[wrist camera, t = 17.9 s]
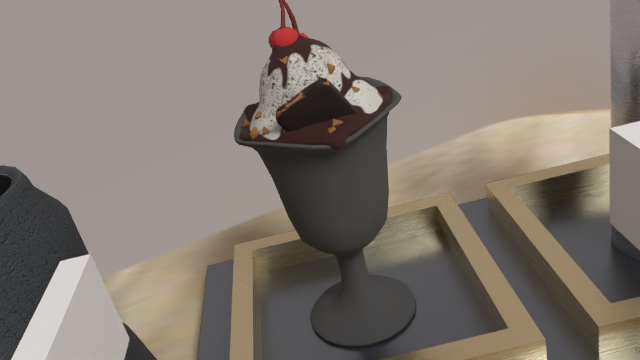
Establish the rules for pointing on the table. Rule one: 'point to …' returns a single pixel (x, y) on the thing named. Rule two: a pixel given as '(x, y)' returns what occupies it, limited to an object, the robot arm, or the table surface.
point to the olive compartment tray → (462, 267)
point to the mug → (35, 257)
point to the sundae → (330, 176)
